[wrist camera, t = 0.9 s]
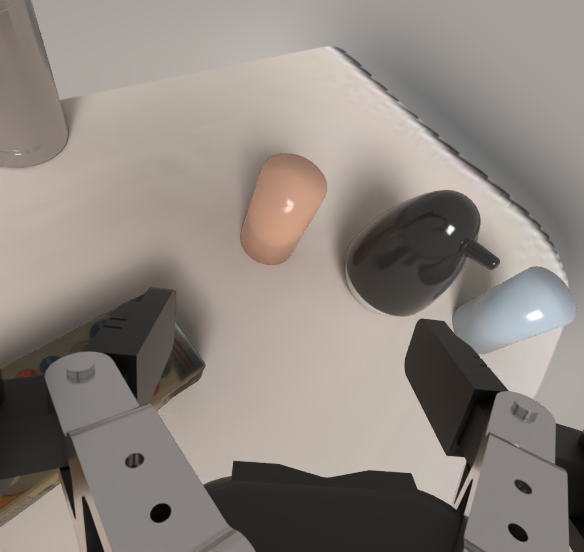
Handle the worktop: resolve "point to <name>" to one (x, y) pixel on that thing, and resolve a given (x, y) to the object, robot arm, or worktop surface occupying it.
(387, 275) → the pump dispenser
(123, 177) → the worktop surface
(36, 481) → the beverage carton
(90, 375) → the robot arm
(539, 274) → the slate-blue canister
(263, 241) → the terracotta canister
